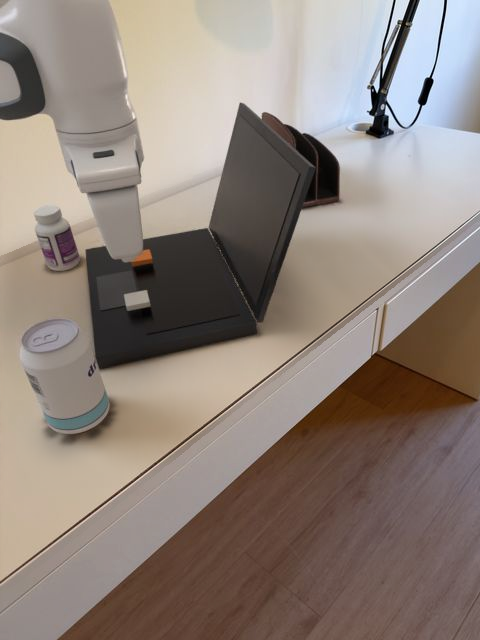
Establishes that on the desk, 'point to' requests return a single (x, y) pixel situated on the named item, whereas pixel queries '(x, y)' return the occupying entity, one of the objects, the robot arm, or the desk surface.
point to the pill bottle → (56, 238)
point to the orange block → (143, 258)
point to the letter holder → (312, 162)
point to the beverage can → (64, 375)
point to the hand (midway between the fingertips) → (128, 256)
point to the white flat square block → (137, 300)
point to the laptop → (165, 300)
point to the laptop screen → (258, 206)
